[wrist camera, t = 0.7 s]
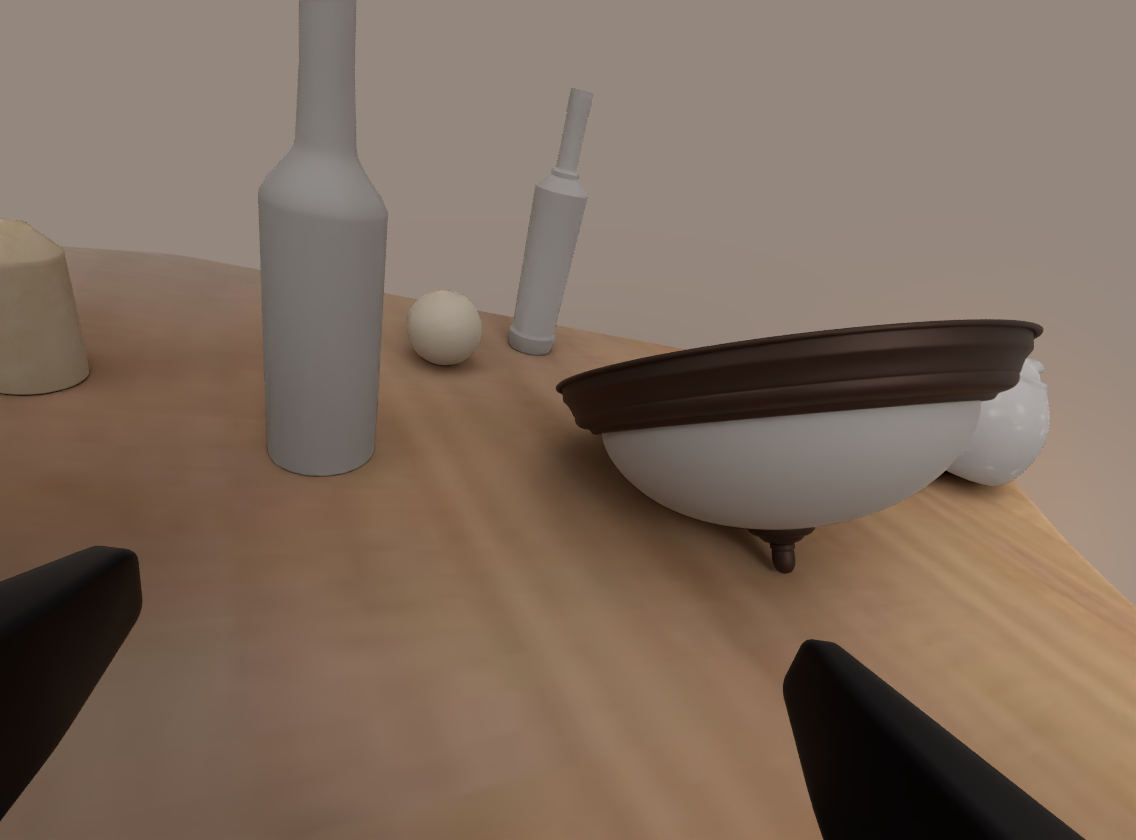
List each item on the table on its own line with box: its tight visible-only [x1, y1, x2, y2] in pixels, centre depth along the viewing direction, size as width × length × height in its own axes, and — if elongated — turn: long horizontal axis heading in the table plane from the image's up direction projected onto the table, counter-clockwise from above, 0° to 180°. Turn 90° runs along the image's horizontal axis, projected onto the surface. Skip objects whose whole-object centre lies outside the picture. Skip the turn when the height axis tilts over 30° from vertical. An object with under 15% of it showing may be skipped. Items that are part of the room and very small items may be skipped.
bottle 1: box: [258, 0, 388, 476], centre depth 30 cm, size 7×7×28 cm
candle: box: [0, 219, 89, 395], centre depth 34 cm, size 6×6×10 cm
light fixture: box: [556, 319, 1043, 574], centre depth 36 cm, size 28×28×14 cm
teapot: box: [946, 358, 1050, 486], centre depth 56 cm, size 19×18×14 cm
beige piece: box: [407, 290, 482, 365], centre depth 51 cm, size 7×7×7 cm
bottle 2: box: [509, 88, 593, 355], centre depth 55 cm, size 5×5×25 cm
